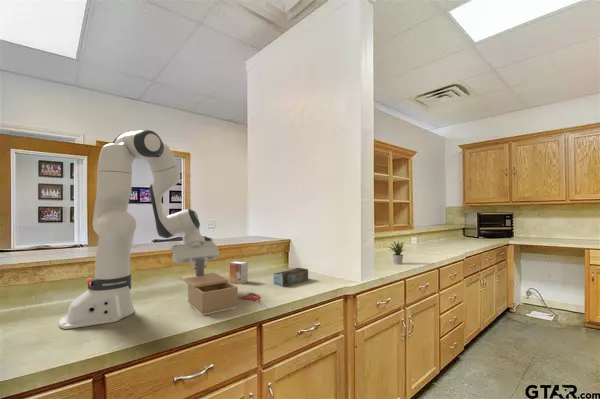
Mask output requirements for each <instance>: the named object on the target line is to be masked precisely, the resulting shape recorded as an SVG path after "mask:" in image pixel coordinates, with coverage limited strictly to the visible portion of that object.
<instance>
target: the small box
mask: <svg viewBox="0 0 600 399" xmlns="http://www.w3.org/2000/svg"><path fill="white" fill-rule="evenodd" d="M248 265H249V264H248V261H247V262H246V261H245V262H244V261H238V260H237V261H231V262H229V282H228V283H231V284H237V285H238V284H239V285H242V284H245V283H247V282H248V280H249V279H248V277H249V276H248V275H249V274H248V272H249V270H248V267H249V266H248Z"/></svg>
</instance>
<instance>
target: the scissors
mask: <svg viewBox="0 0 600 399" xmlns="http://www.w3.org/2000/svg"><path fill="white" fill-rule="evenodd" d="M240 300H244V301H245V300H246V301H252V302H256V303H257V304H259V305H260V306H263V307H264V308H268V309H269V307H268V306H267V305H266V304H265V303H264V302H263V301H261V298H260V295H259V294H257V293H256V292H248V293H247V294H242V295H241V296H240Z"/></svg>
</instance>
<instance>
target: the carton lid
mask: <svg viewBox="0 0 600 399" xmlns="http://www.w3.org/2000/svg"><path fill="white" fill-rule="evenodd" d="M204 263H205V262H204V260H203V259H201V260H196V261H195V264H197V269H195V274H191V275H189V274H188V275H182V276H180V279H181V280H182V281H183V282H185V283H186V284H187V285H188V284H189V285H190V286H192V287H193V288H195V287H201V286H207V285H214V284H220V283H226V282H228V283H230V282H229V281H230V279H228V278H226V277H224V276H221V275H220V274H218V273H216V272H212V271H211V272H204V271H205V268H204Z"/></svg>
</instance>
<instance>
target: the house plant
mask: <svg viewBox="0 0 600 399" xmlns="http://www.w3.org/2000/svg"><path fill="white" fill-rule="evenodd" d="M393 243H394V245H393V244H391V246H392V247H391V246H388V251H389V252H390V251H391V252H393V254H392V259H393V264H395V265H402V264H403V257H404V254H402V252H404V248H403V247H404V246H405V241H401V242H400V241H399V240H397V243H396V242H395V241H393Z"/></svg>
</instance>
